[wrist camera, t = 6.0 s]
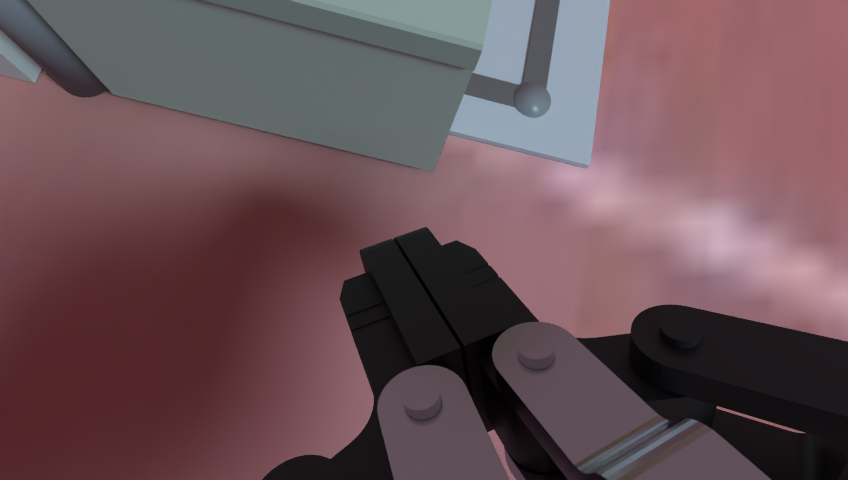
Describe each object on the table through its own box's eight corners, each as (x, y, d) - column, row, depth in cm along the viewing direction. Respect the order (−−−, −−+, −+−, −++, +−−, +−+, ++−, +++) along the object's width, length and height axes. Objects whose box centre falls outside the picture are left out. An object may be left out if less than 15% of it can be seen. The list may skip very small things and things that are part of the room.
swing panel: (111, 98, 16) (-69, -94, 9) (132, 48, 16) (-24, -169, 10) (432, 176, 17) (482, 51, 10) (443, 126, 17) (497, -25, 10)
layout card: (586, 168, 18) (591, 164, 18) (317, 101, 17) (316, 96, 17) (613, -48, 21) (617, -55, 20) (380, -114, 20) (380, -123, 20)
